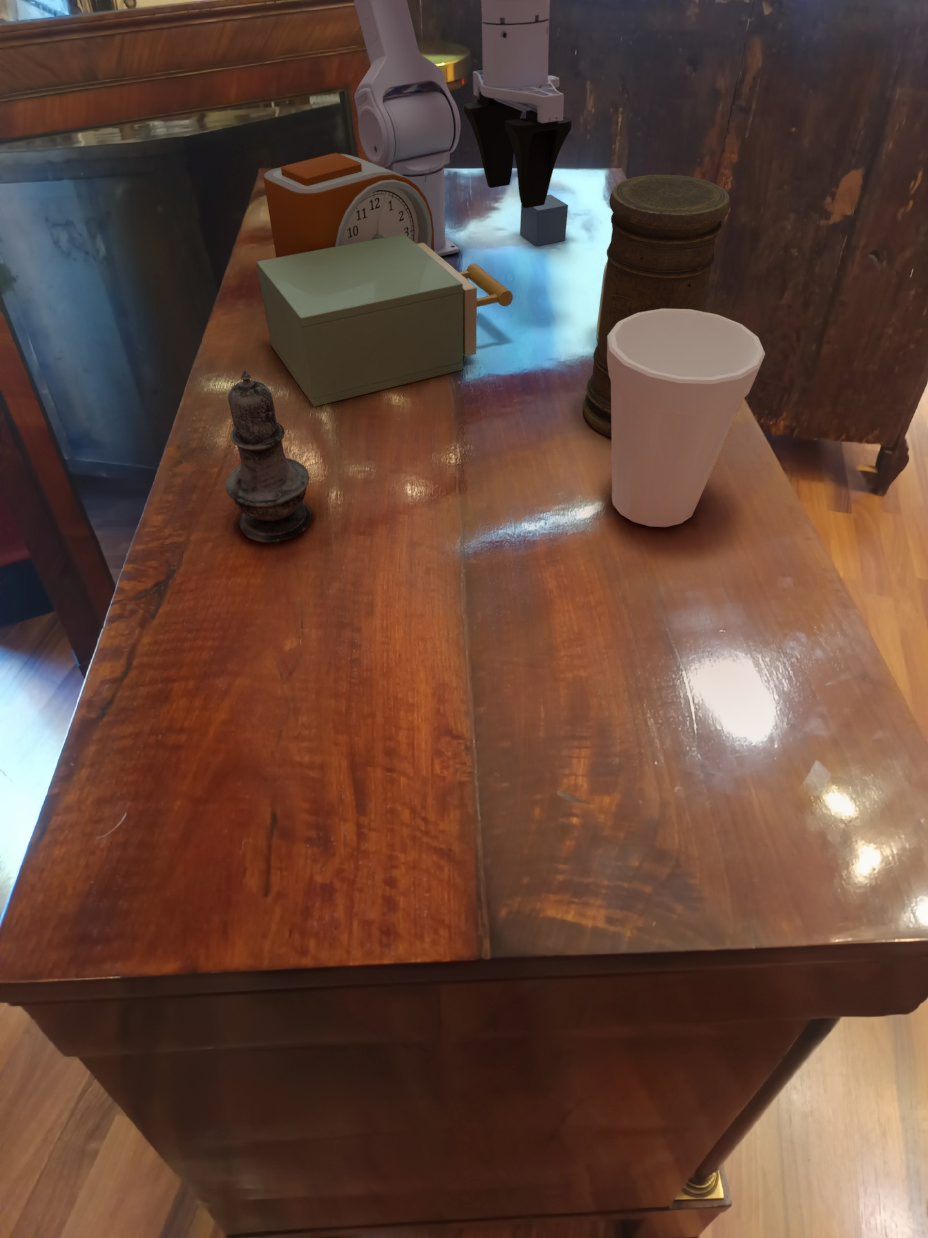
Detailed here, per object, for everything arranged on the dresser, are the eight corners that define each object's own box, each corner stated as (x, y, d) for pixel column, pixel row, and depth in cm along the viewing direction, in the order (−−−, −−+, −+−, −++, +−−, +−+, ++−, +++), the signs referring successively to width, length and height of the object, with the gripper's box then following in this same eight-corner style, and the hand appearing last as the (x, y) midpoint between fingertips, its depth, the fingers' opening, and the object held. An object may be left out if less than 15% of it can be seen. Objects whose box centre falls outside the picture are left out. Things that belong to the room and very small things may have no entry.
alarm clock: (323, 335, 81) (304, 187, 71) (276, 306, 86) (252, 164, 76) (437, 292, 88) (434, 152, 78) (389, 267, 92) (380, 132, 83)
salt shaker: (274, 556, 58) (241, 405, 49) (218, 524, 60) (177, 375, 52) (332, 514, 61) (310, 366, 53) (277, 486, 64) (247, 340, 55)
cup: (740, 541, 59) (792, 374, 50) (605, 554, 58) (632, 387, 49) (693, 461, 66) (731, 302, 57) (572, 472, 65) (590, 312, 56)
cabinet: (408, 314, 84) (404, 233, 78) (463, 369, 76) (463, 283, 71) (271, 345, 80) (255, 261, 74) (313, 407, 72) (300, 317, 66)
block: (519, 234, 99) (521, 199, 96) (548, 228, 101) (550, 193, 98) (536, 246, 97) (538, 210, 94) (565, 240, 98) (568, 204, 95)
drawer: (469, 296, 85) (469, 233, 81) (522, 342, 78) (526, 276, 74) (299, 333, 80) (289, 267, 75) (340, 387, 72) (332, 318, 68)
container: (686, 450, 67) (739, 219, 54) (577, 438, 68) (602, 209, 55) (688, 394, 73) (735, 174, 60) (587, 384, 74) (612, 167, 62)
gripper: (600, 24, 65) (589, 208, 74) (520, 7, 75) (520, 171, 84) (520, 33, 63) (519, 220, 72) (449, 15, 73) (457, 181, 83)
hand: (515, 195), depth 78 cm, fingers open, 7 cm apart
